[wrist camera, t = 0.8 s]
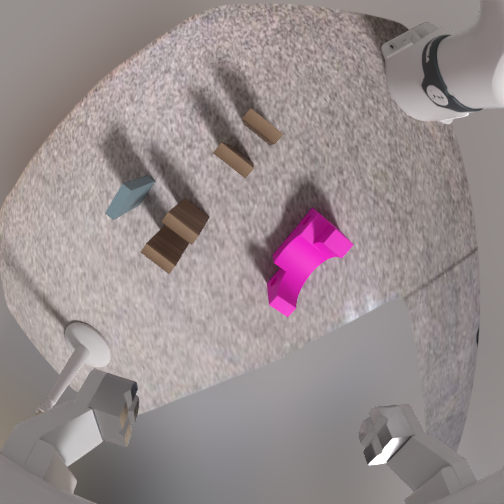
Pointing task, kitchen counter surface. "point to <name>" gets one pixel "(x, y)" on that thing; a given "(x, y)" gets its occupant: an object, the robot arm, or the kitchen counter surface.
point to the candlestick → (78, 358)
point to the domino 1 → (129, 196)
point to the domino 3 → (165, 248)
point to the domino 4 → (234, 159)
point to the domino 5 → (261, 127)
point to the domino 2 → (186, 220)
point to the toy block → (303, 258)
